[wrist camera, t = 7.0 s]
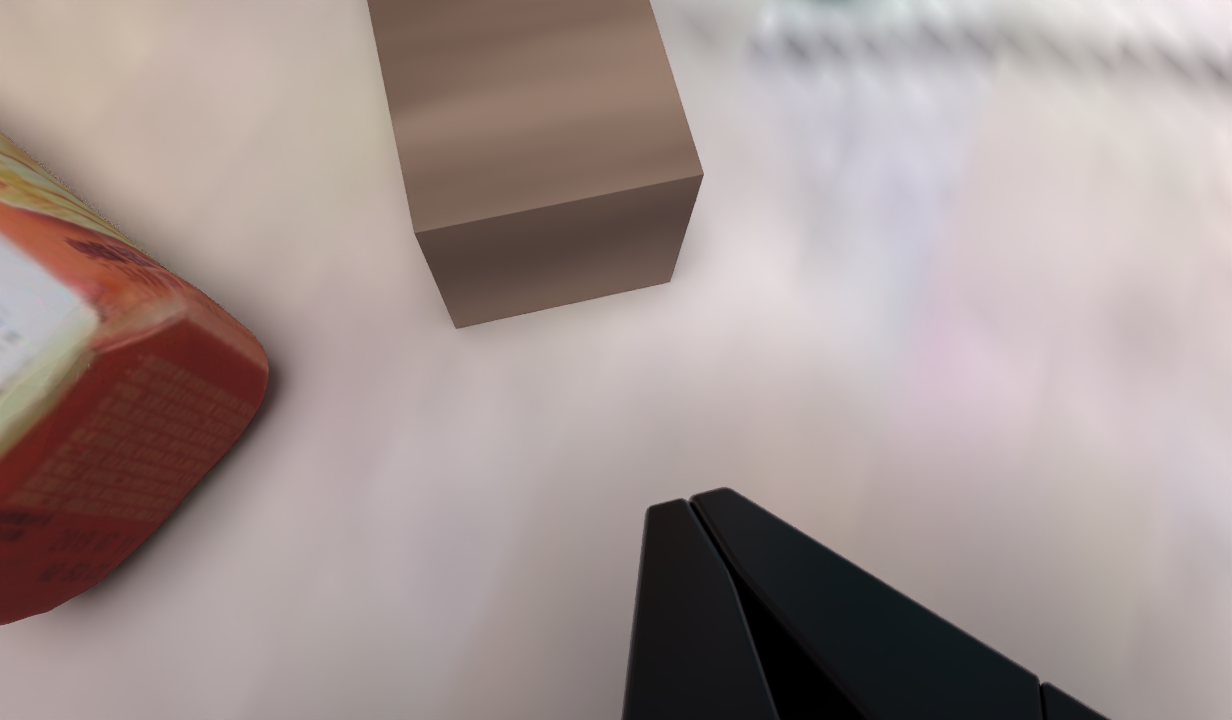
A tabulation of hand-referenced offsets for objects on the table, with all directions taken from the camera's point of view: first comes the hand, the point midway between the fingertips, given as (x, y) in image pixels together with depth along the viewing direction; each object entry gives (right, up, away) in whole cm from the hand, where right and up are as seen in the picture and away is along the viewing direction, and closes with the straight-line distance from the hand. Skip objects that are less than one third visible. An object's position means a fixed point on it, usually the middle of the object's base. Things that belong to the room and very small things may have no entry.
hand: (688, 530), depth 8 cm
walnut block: (-2, +4, +8) cm, 9 cm away
